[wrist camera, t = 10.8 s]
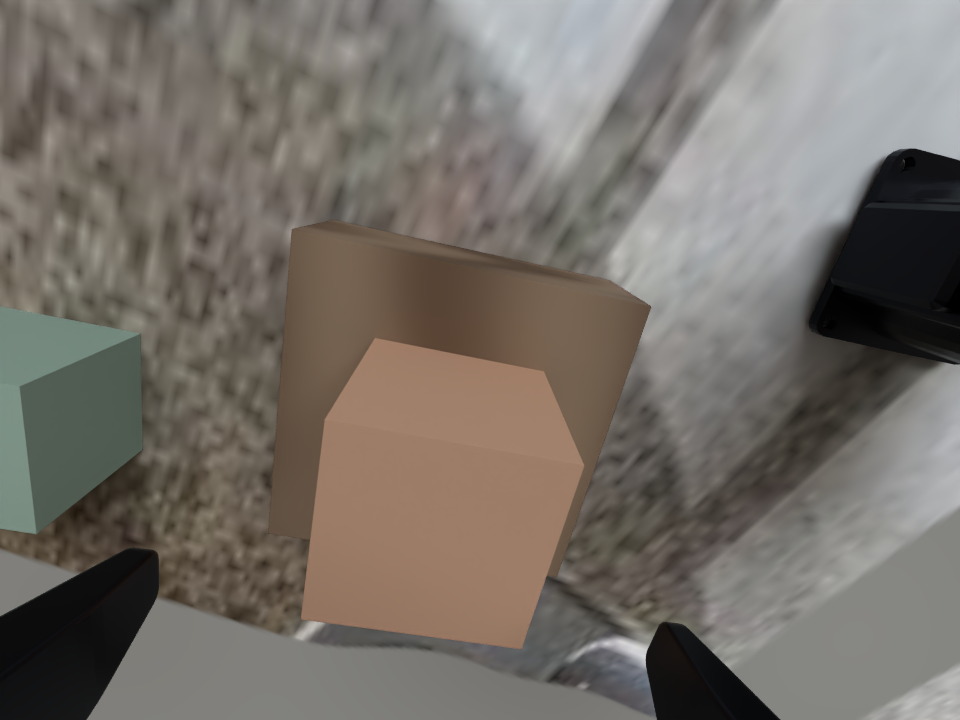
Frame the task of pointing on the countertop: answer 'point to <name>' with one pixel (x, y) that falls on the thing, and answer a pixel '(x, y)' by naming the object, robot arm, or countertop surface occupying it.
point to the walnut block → (439, 340)
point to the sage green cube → (63, 413)
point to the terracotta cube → (439, 497)
